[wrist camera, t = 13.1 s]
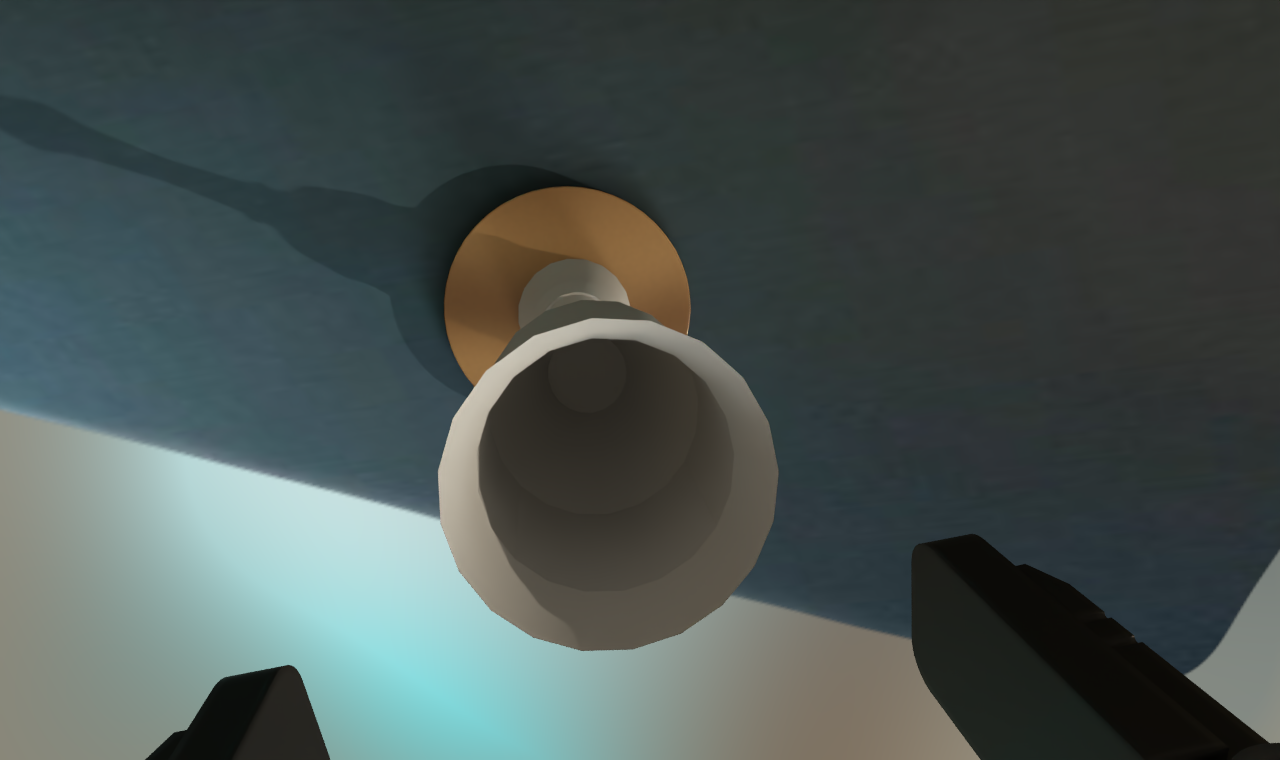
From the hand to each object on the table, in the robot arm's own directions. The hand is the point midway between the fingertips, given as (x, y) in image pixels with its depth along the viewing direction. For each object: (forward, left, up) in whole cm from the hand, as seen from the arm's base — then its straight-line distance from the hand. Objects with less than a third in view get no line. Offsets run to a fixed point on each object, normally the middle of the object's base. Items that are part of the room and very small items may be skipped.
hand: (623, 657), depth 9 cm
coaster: (0, 0, -24) cm, 24 cm away
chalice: (0, 0, -23) cm, 23 cm away
